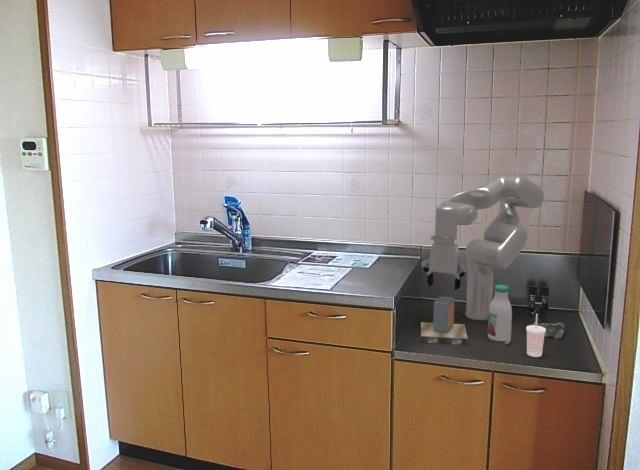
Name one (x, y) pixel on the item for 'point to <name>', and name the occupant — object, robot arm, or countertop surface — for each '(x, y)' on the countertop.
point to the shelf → (444, 335)
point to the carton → (443, 314)
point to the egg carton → (552, 329)
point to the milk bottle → (500, 315)
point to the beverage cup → (535, 339)
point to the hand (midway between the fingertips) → (443, 287)
